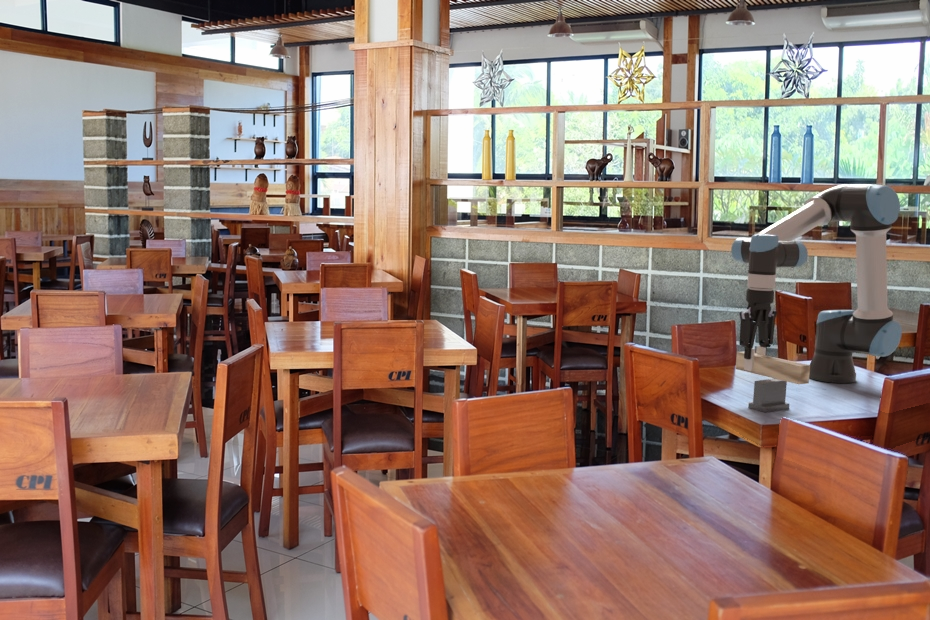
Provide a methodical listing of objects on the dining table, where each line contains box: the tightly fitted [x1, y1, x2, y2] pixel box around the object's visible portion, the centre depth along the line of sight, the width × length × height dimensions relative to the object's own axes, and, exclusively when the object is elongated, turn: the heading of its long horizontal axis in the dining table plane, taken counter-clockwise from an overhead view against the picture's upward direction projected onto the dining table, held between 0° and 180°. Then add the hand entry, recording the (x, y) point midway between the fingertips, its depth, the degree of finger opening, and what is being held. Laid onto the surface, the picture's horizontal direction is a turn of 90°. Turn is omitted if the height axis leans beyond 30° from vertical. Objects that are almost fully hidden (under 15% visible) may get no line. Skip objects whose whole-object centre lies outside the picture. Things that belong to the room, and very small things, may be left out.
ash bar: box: [735, 350, 810, 385], centre depth 256 cm, size 4×22×5 cm, turn 32°
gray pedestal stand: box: [747, 378, 790, 414], centre depth 257 cm, size 10×6×8 cm, turn 122°
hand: (754, 369), depth 261 cm, fingers closed on ash bar, 4 cm apart
